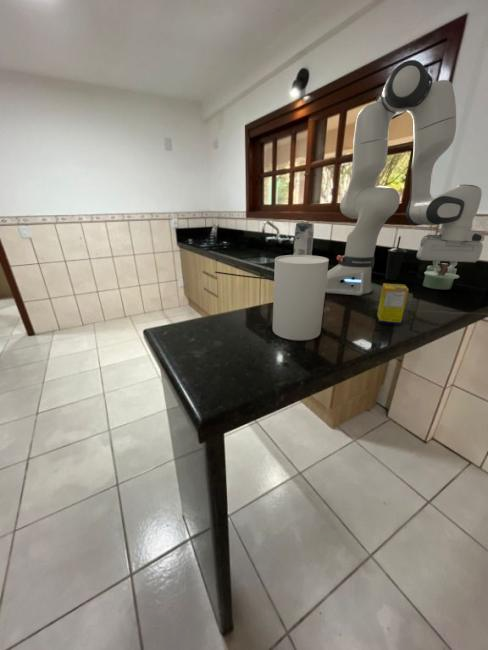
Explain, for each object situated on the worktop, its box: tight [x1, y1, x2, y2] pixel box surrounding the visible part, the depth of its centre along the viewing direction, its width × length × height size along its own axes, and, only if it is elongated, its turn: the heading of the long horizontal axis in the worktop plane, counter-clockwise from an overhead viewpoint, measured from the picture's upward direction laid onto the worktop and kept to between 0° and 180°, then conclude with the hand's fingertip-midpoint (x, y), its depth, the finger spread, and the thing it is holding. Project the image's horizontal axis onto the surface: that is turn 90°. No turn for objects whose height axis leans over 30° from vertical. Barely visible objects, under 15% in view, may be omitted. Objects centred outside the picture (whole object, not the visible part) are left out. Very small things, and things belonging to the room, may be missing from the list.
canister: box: [271, 254, 330, 341], centre depth 71 cm, size 14×14×20 cm
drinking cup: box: [384, 235, 407, 281], centre depth 125 cm, size 8×8×20 cm
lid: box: [423, 262, 460, 280], centre depth 101 cm, size 11×11×5 cm
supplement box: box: [376, 282, 409, 326], centre depth 79 cm, size 6×6×11 cm
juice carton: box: [293, 219, 315, 256], centre depth 141 cm, size 9×10×27 cm
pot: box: [422, 265, 458, 290], centre depth 113 cm, size 10×10×8 cm
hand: (441, 272), depth 101 cm, fingers closed on lid, 2 cm apart
